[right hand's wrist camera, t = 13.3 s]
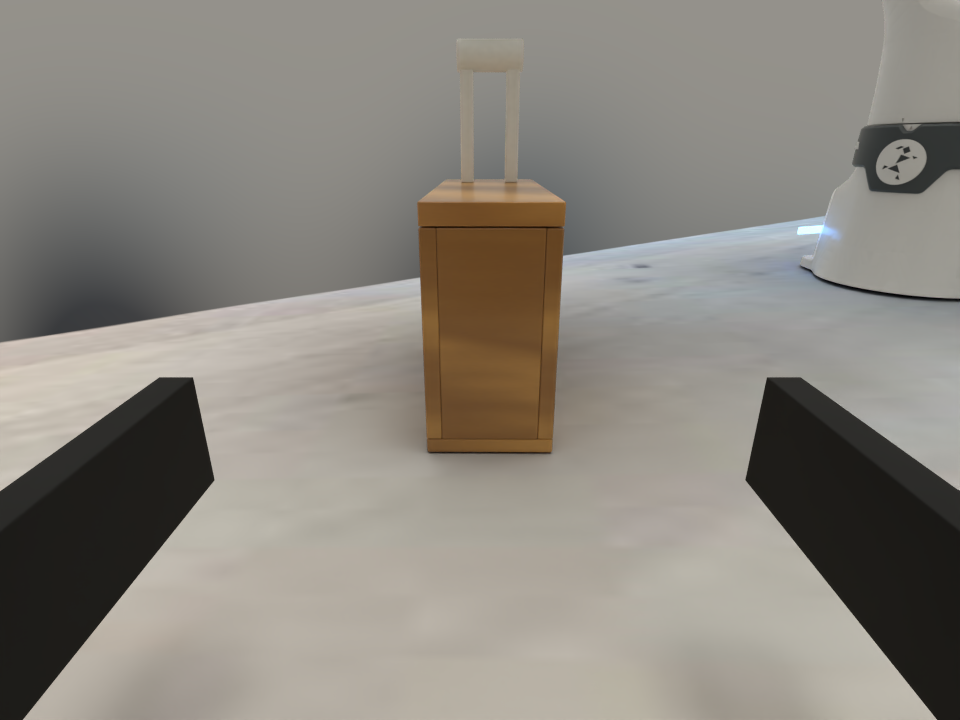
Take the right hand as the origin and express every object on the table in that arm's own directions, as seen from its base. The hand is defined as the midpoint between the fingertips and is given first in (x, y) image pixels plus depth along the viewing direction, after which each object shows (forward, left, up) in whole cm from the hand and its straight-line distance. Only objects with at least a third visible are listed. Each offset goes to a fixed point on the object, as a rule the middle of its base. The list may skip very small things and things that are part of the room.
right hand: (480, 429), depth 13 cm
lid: (+15, +8, +3) cm, 17 cm away
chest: (+15, +8, -6) cm, 18 cm away
